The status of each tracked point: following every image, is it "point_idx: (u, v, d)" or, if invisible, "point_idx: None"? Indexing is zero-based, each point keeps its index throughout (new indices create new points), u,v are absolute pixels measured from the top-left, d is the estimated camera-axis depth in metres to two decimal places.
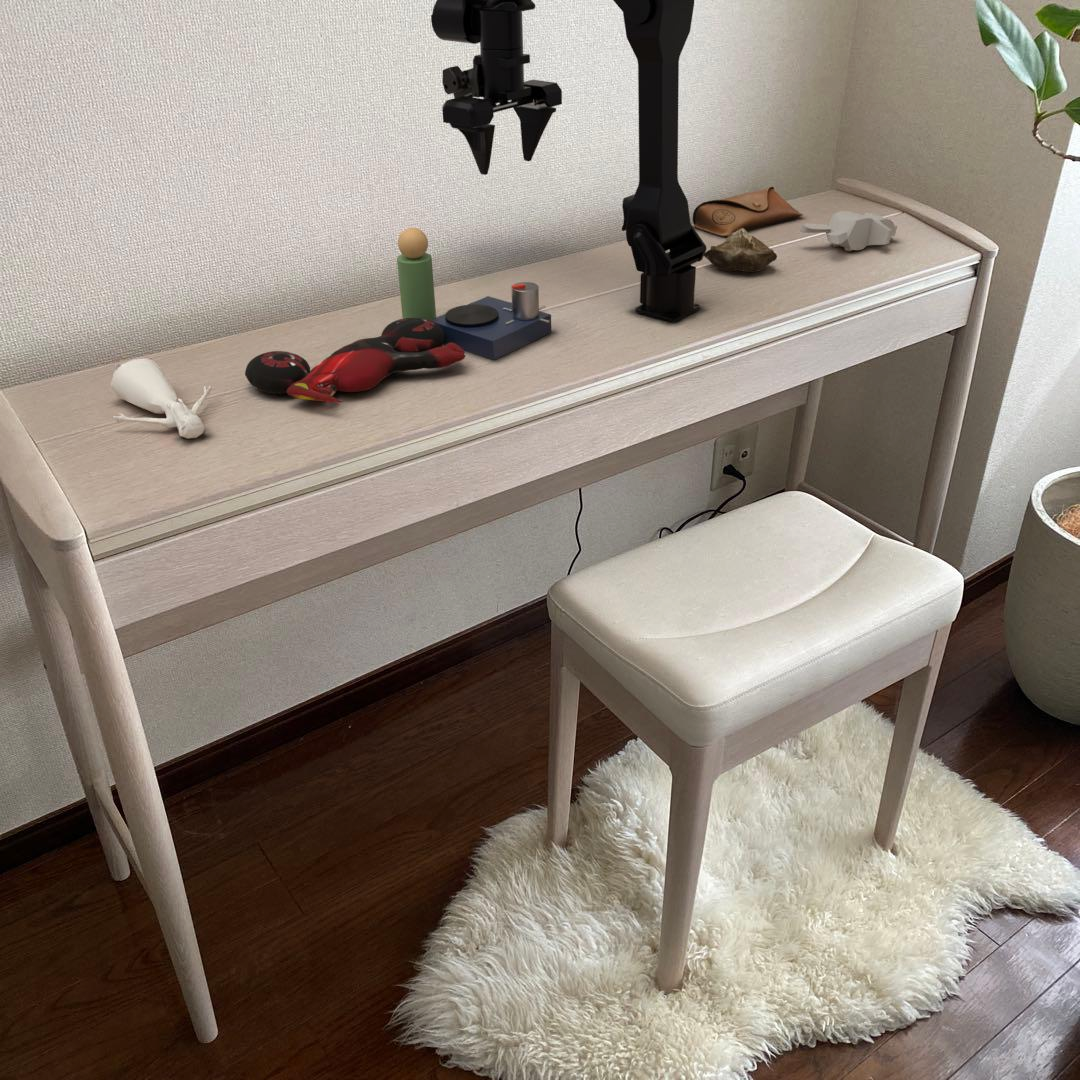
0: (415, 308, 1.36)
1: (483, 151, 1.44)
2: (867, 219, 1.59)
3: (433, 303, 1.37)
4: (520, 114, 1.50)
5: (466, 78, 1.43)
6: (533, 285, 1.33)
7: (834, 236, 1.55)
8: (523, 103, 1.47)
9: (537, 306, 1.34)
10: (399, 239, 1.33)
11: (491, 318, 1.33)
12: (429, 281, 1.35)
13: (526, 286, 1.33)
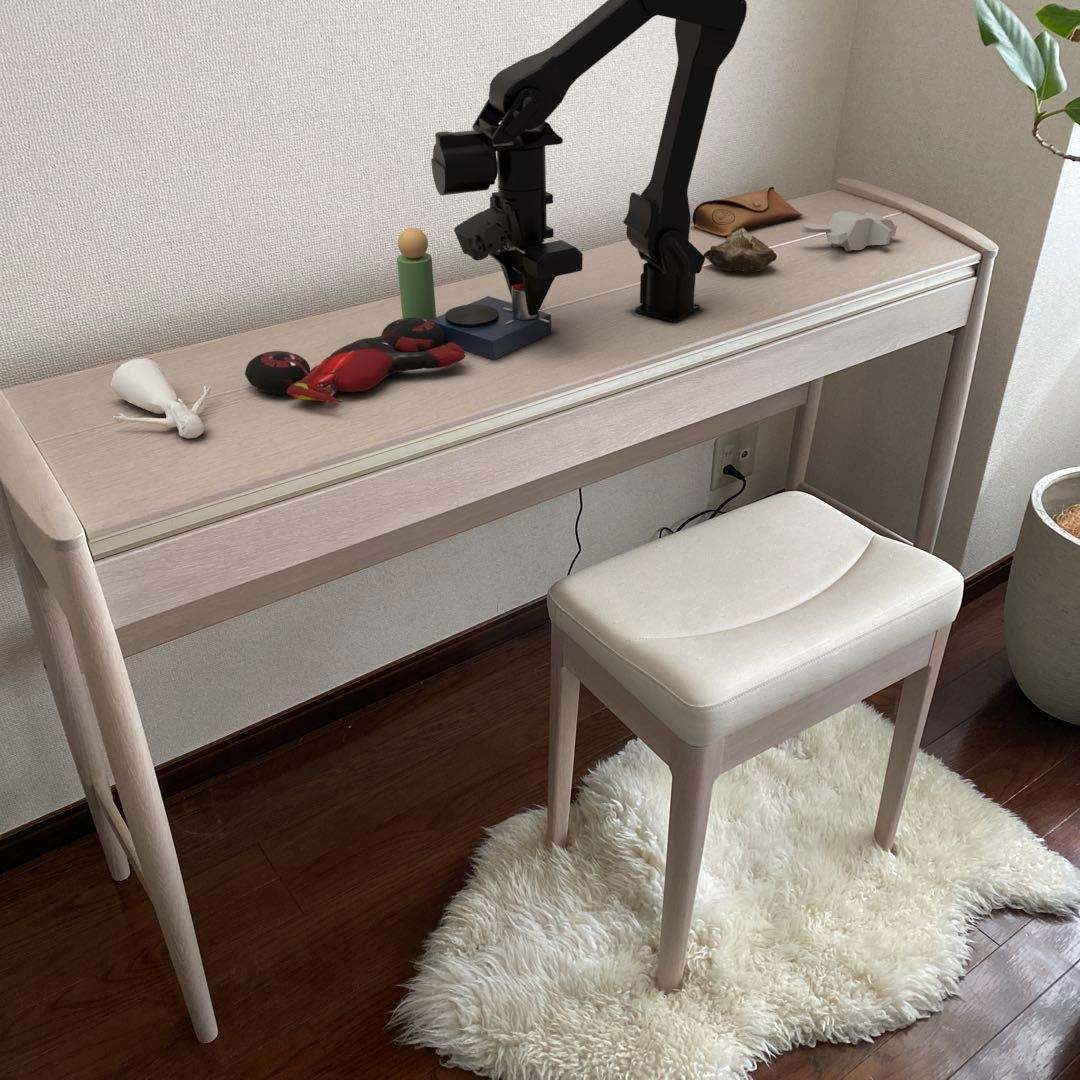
0: (415, 308, 1.36)
1: (545, 290, 1.31)
2: (867, 219, 1.59)
3: (433, 303, 1.37)
4: (505, 260, 1.32)
5: (507, 229, 1.24)
6: None
7: (834, 236, 1.55)
8: None
9: None
10: (399, 239, 1.33)
11: (491, 318, 1.33)
12: (429, 281, 1.35)
13: None
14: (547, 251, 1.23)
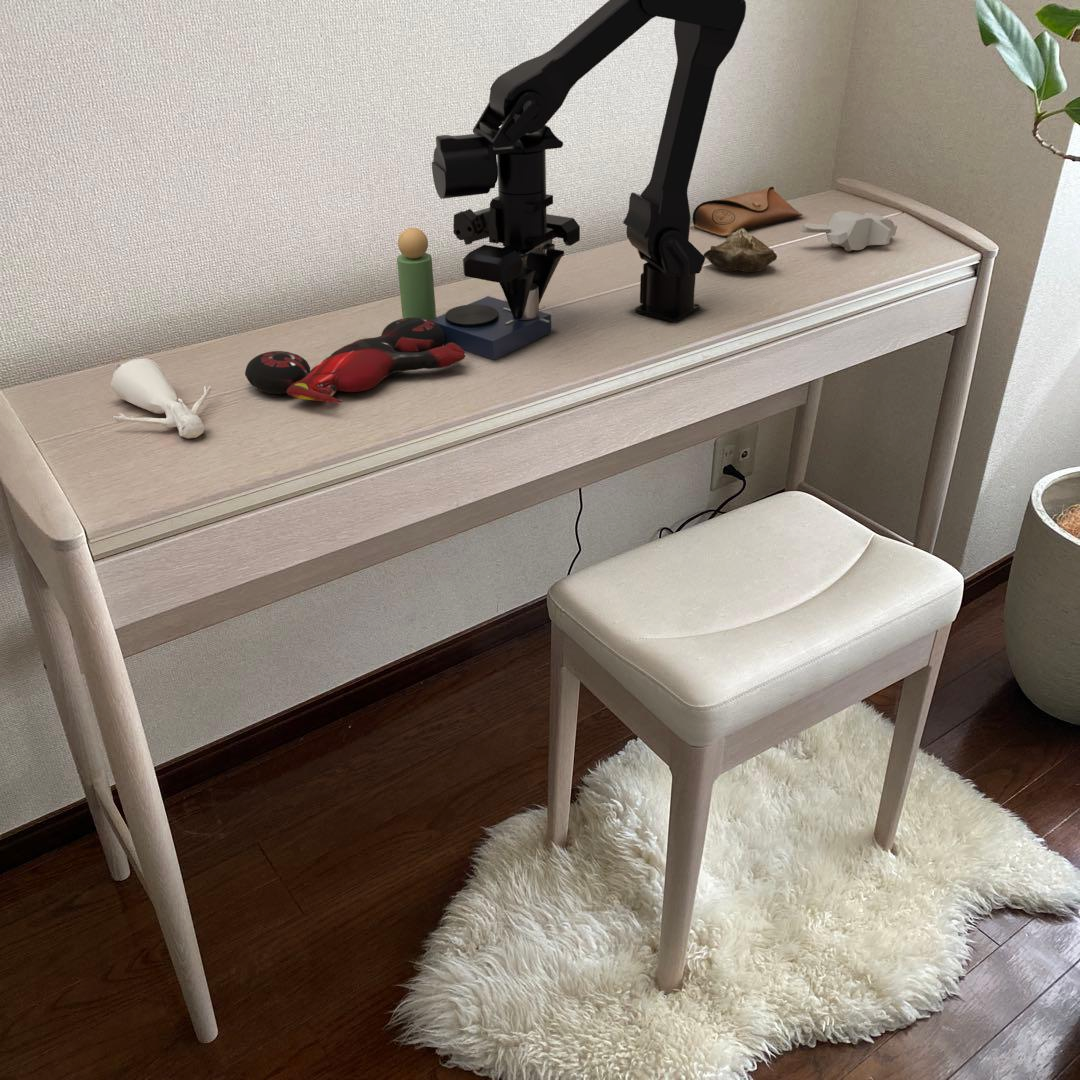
0: (415, 308, 1.36)
1: (520, 297, 1.30)
2: (867, 219, 1.59)
3: (433, 303, 1.37)
4: None
5: (482, 223, 1.28)
6: (531, 288, 1.32)
7: (834, 236, 1.55)
8: None
9: (526, 309, 1.33)
10: (399, 239, 1.33)
11: (491, 318, 1.33)
12: (429, 281, 1.35)
13: None
14: (477, 252, 1.24)
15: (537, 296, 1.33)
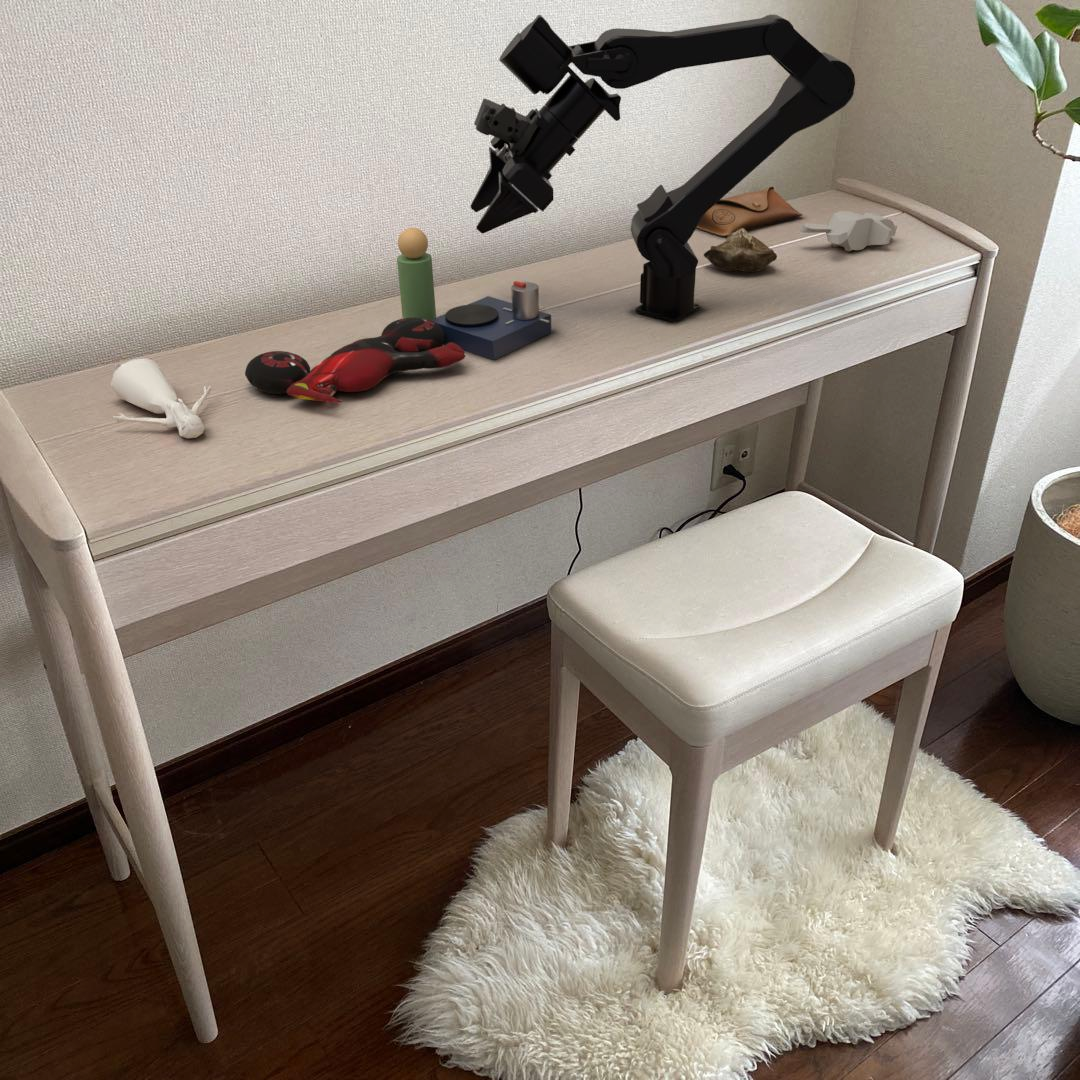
0: (415, 308, 1.36)
1: (505, 219, 1.28)
2: (867, 219, 1.59)
3: (433, 303, 1.37)
4: (495, 164, 1.35)
5: (520, 130, 1.25)
6: (531, 288, 1.32)
7: (834, 236, 1.55)
8: None
9: (526, 309, 1.33)
10: (399, 239, 1.33)
11: (491, 318, 1.33)
12: (429, 281, 1.35)
13: (525, 286, 1.33)
14: (530, 166, 1.22)
15: (537, 296, 1.33)
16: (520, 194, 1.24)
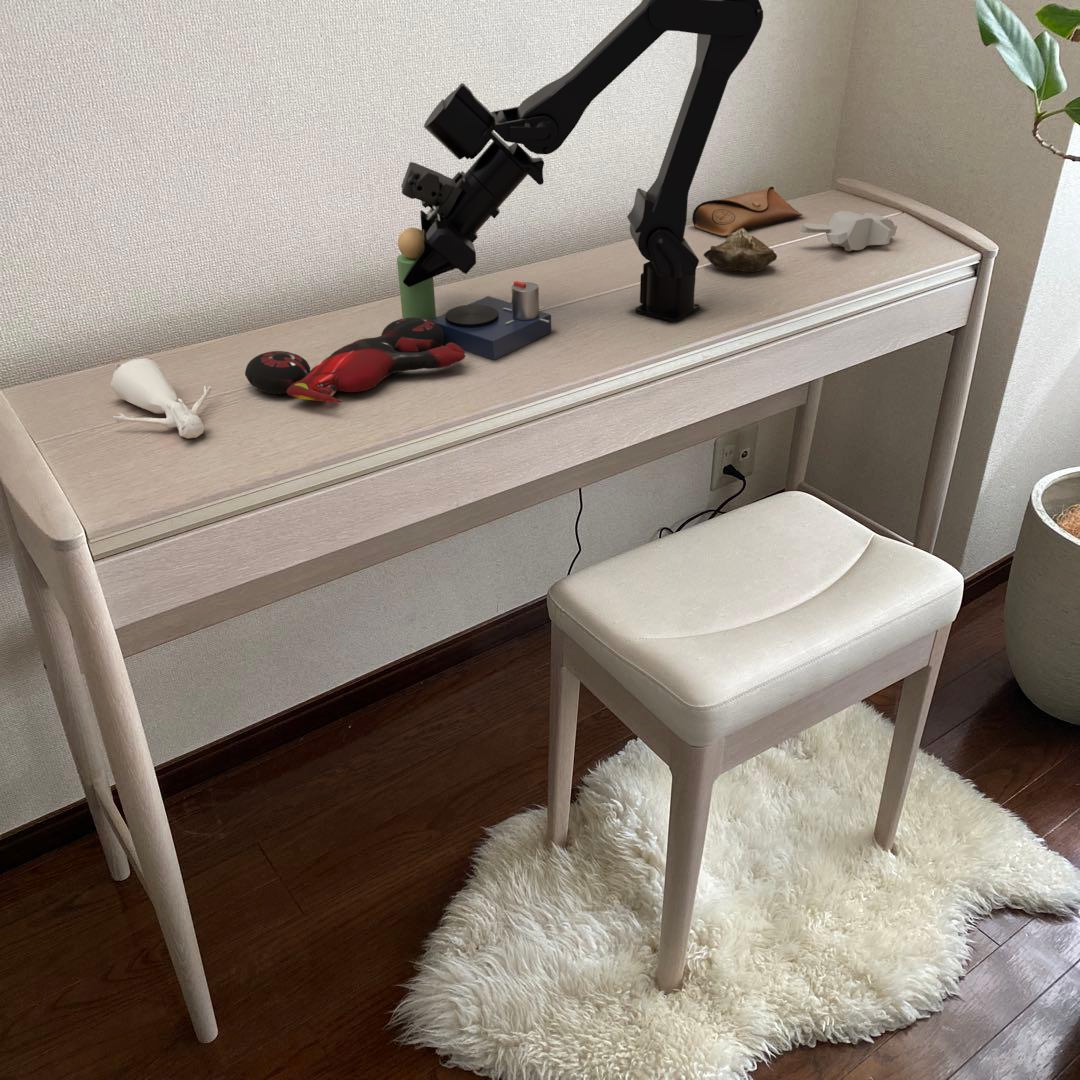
0: (414, 308, 1.36)
1: (430, 273, 1.32)
2: (867, 219, 1.59)
3: (433, 303, 1.37)
4: (426, 228, 1.36)
5: (444, 194, 1.28)
6: (531, 288, 1.32)
7: (834, 236, 1.55)
8: None
9: (526, 309, 1.33)
10: (399, 239, 1.33)
11: (491, 318, 1.33)
12: (429, 282, 1.35)
13: (525, 286, 1.33)
14: (453, 231, 1.25)
15: (537, 296, 1.33)
16: None
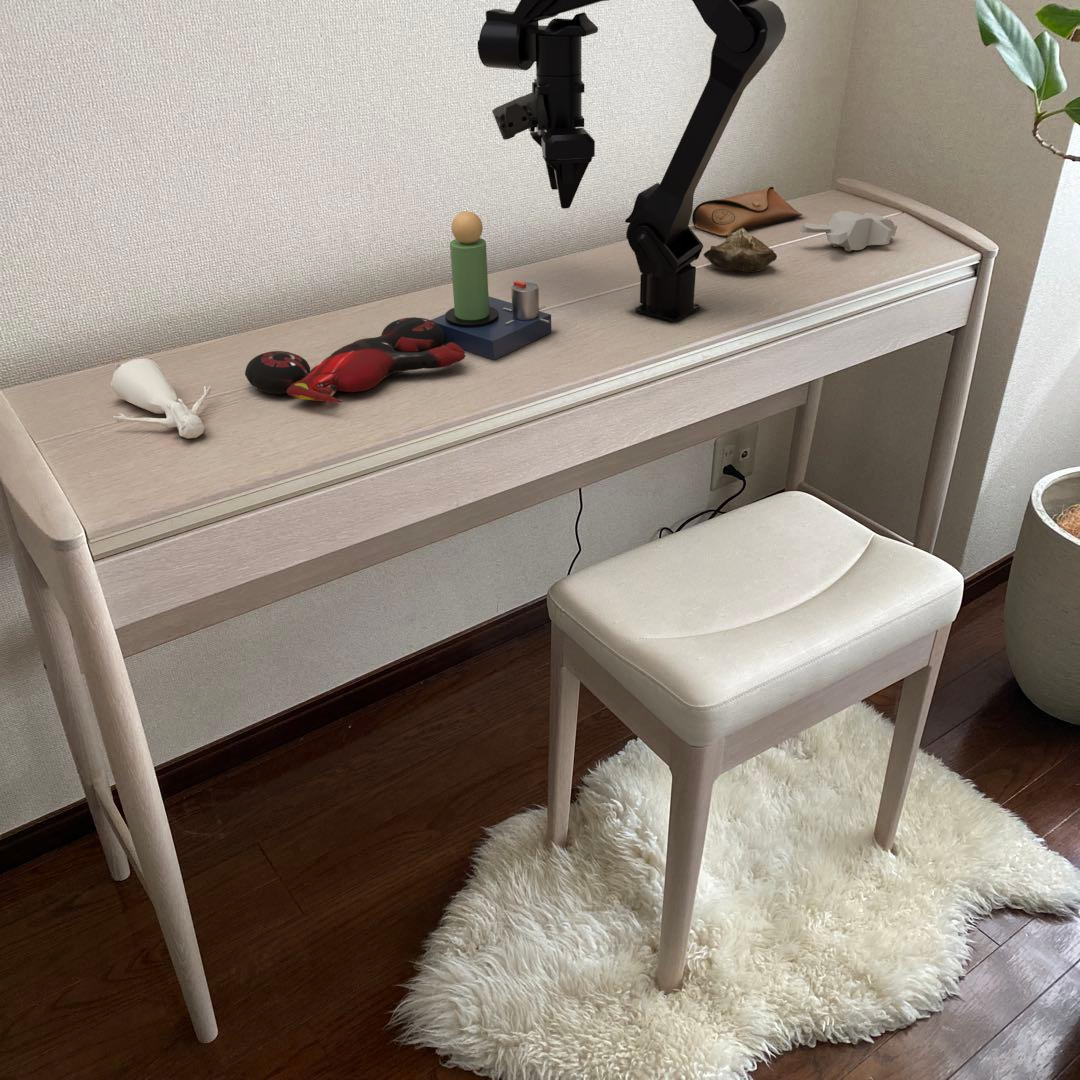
0: (468, 296, 1.31)
1: (575, 183, 1.35)
2: (867, 219, 1.59)
3: (486, 290, 1.32)
4: None
5: (532, 111, 1.33)
6: (531, 288, 1.32)
7: (834, 236, 1.55)
8: None
9: (526, 309, 1.33)
10: (453, 223, 1.28)
11: (491, 318, 1.33)
12: (483, 268, 1.30)
13: (525, 286, 1.33)
14: (558, 134, 1.29)
15: (537, 296, 1.33)
16: (568, 159, 1.32)
